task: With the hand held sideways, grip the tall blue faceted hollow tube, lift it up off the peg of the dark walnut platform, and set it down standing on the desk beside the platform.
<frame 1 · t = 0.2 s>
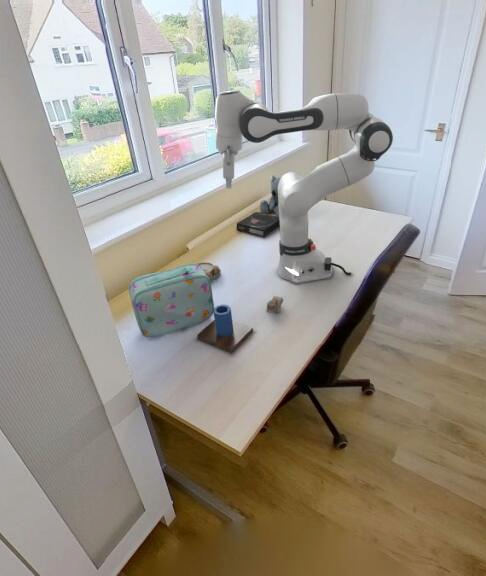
hand: (228, 183, 140), 39 cm above the table, tool pointing down, fingers open, 8 cm apart
blue faceted hollow tube: (225, 331, 130), point 2 cm above the table, touching platform
portable cd player: (259, 228, 199), on the table
alarm clock: (205, 277, 162), on the table
toy character: (274, 311, 141), on the table
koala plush: (280, 211, 216), on the table
platform: (225, 335, 131), on the table
lunch box: (179, 323, 137), on the table
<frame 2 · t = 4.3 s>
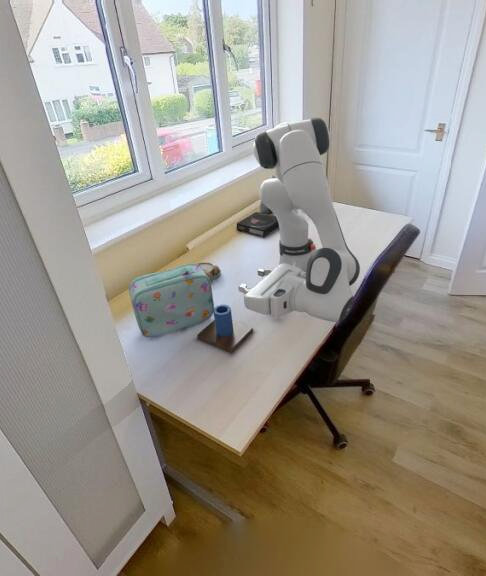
hand: (249, 279, 111), 26 cm above the table, tool horizontal, fingers open, 8 cm apart
nothing on the table moved.
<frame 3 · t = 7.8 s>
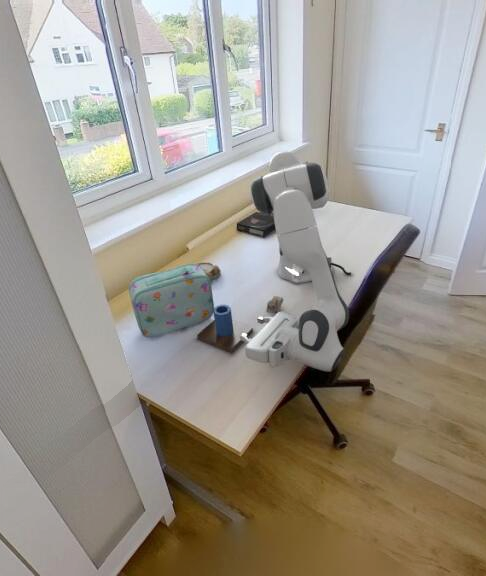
hand: (250, 327, 121), 8 cm above the table, tool horizontal, fingers open, 8 cm apart
nothing on the table moved.
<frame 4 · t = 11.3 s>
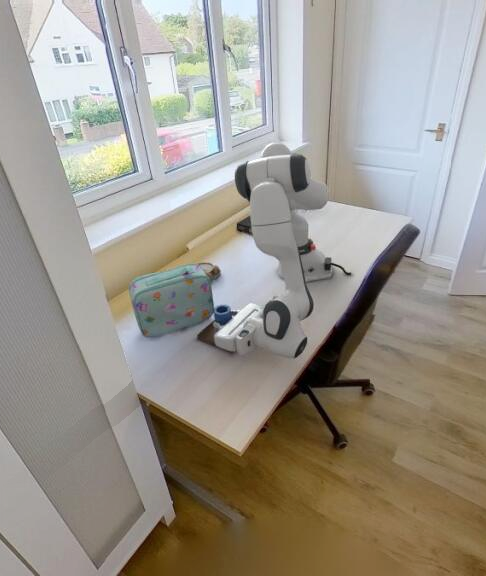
hand: (221, 317, 127), 7 cm above the table, tool horizontal, fingers closed on blue faceted hollow tube, 5 cm apart
blue faceted hollow tube: (225, 331, 130), point 2 cm above the table, touching gripper, platform
everything else where it was.
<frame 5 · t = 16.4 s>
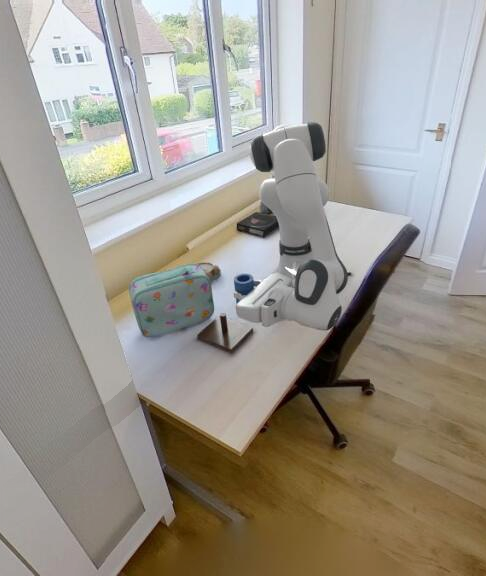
hand: (241, 288, 114), 22 cm above the table, tool horizontal, fingers closed on blue faceted hollow tube, 5 cm apart
blue faceted hollow tube: (245, 304, 117), point 17 cm above the table, touching gripper
everything else where it was.
when the fingers open (5 cm above the table, at t = 21.7 s): blue faceted hollow tube stays where it is, on the table.
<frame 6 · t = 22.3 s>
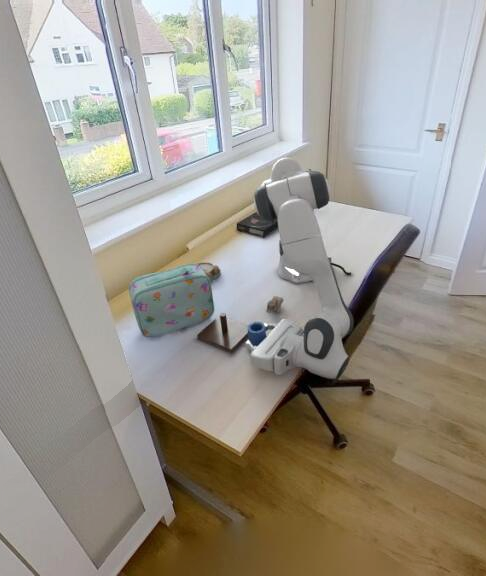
hand: (254, 334, 122), 6 cm above the table, tool horizontal, fingers open, 8 cm apart
blue faceted hollow tube: (258, 349, 125), on the table
everything else where it was.
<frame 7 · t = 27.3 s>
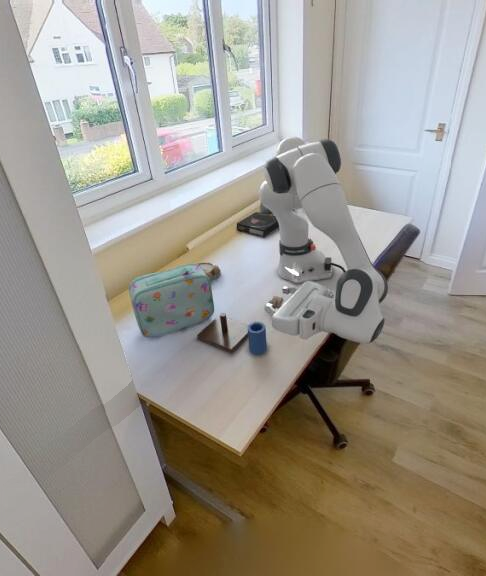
hand: (275, 297, 109), 22 cm above the table, tool horizontal, fingers open, 8 cm apart
nothing on the table moved.
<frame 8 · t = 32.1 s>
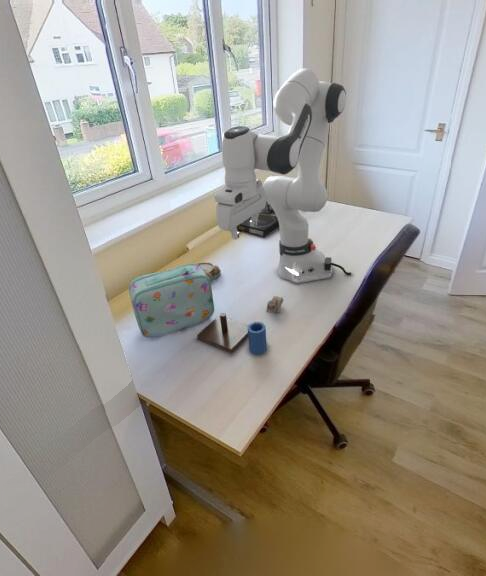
hand: (245, 232, 120), 33 cm above the table, tool pointing down, fingers open, 8 cm apart
nothing on the table moved.
at the end: blue faceted hollow tube touching table; blue faceted hollow tube on the table; blue faceted hollow tube tilted 0° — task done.
